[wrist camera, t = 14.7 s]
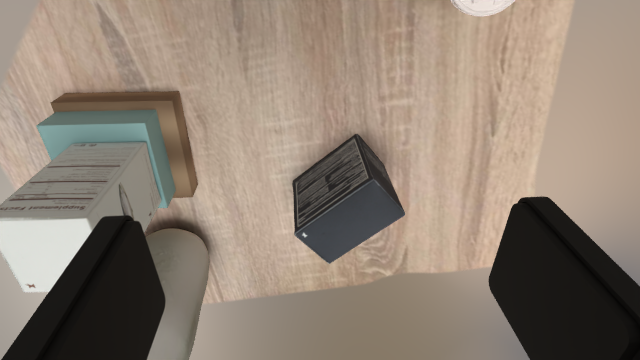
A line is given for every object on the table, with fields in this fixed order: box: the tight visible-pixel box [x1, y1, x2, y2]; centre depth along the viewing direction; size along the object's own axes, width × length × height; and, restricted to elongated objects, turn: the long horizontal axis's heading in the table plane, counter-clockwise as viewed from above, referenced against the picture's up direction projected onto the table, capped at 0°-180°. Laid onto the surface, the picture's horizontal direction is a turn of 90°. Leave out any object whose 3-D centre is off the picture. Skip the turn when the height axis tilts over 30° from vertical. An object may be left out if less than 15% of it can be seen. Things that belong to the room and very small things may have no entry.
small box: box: [293, 134, 405, 264], centre depth 43 cm, size 11×6×10 cm, turn 129°
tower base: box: [51, 91, 198, 198], centre depth 43 cm, size 12×12×4 cm
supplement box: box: [0, 142, 161, 292], centre depth 33 cm, size 7×7×13 cm
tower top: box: [37, 110, 176, 208], centre depth 40 cm, size 10×10×4 cm
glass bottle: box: [146, 228, 209, 360], centre depth 40 cm, size 10×10×28 cm
